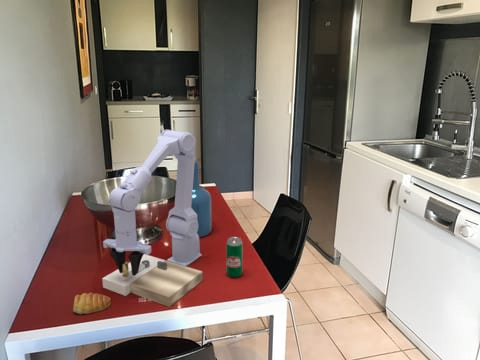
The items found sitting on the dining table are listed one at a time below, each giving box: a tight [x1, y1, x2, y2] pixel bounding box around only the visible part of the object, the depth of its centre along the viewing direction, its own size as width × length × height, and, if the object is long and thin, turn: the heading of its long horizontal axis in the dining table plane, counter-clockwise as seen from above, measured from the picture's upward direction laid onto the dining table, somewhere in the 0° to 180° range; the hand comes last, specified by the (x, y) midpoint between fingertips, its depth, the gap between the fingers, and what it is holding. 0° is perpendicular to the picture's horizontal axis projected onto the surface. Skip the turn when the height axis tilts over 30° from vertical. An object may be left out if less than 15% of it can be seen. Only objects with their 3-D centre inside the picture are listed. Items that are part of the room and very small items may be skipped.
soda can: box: [225, 236, 244, 279], centre depth 123 cm, size 5×5×12 cm
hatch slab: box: [130, 260, 204, 308], centre depth 118 cm, size 16×14×3 cm
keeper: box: [157, 261, 167, 270], centre depth 122 cm, size 1×3×2 cm, turn 61°
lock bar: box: [122, 260, 150, 281], centre depth 119 cm, size 11×2×5 cm, turn 155°
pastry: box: [72, 292, 111, 315], centre depth 107 cm, size 9×7×4 cm
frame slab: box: [101, 253, 167, 297], centre depth 122 cm, size 18×9×3 cm, turn 151°
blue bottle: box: [191, 157, 213, 238], centre depth 152 cm, size 14×13×30 cm
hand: (129, 272), depth 115 cm, fingers open, 4 cm apart
